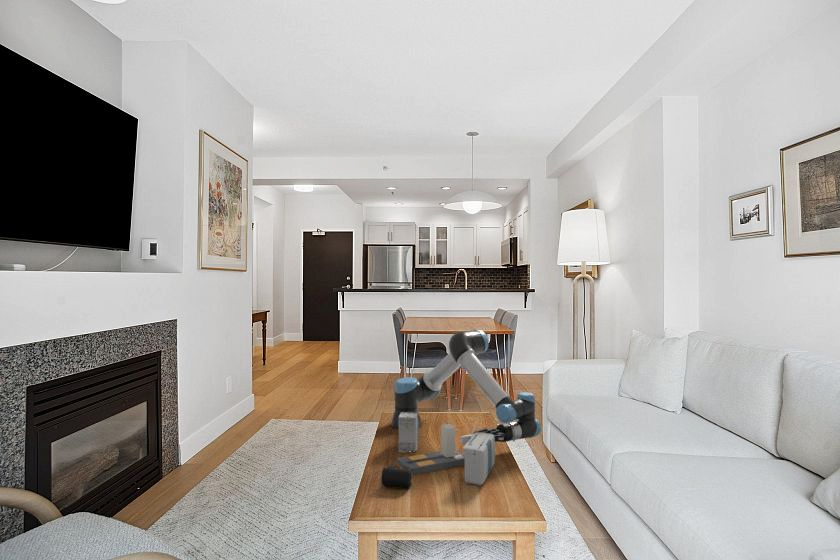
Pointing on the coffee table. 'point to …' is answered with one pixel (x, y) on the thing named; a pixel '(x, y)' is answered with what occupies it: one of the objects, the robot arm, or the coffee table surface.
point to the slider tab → (448, 440)
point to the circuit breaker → (408, 431)
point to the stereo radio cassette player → (479, 457)
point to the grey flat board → (431, 462)
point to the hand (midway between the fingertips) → (461, 439)
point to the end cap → (396, 477)
